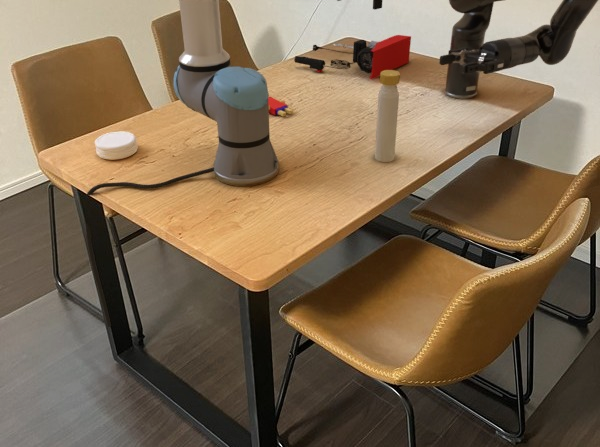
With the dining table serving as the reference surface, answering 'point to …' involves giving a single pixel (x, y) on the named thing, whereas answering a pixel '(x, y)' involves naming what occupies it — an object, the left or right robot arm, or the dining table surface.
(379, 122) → the bottle
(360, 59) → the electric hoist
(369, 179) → the dining table surface
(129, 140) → the white round container
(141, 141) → the dining table surface
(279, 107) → the toy figure
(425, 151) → the dining table surface
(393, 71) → the cap
